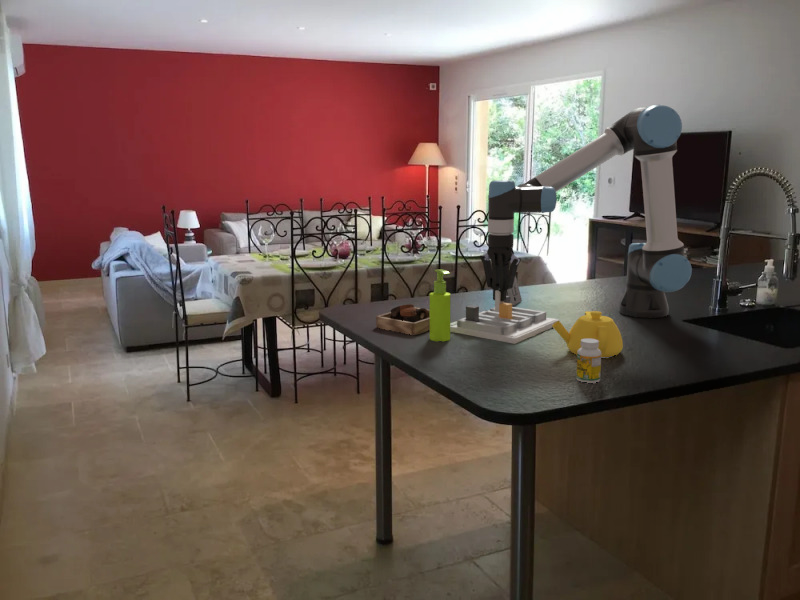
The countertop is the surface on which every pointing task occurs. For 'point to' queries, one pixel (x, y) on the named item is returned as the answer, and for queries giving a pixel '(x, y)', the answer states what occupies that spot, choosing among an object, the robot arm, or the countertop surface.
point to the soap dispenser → (440, 309)
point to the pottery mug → (408, 313)
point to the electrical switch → (514, 293)
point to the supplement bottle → (589, 361)
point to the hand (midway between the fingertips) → (499, 311)
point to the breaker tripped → (505, 310)
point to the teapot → (592, 333)
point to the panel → (505, 338)
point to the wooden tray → (403, 324)
